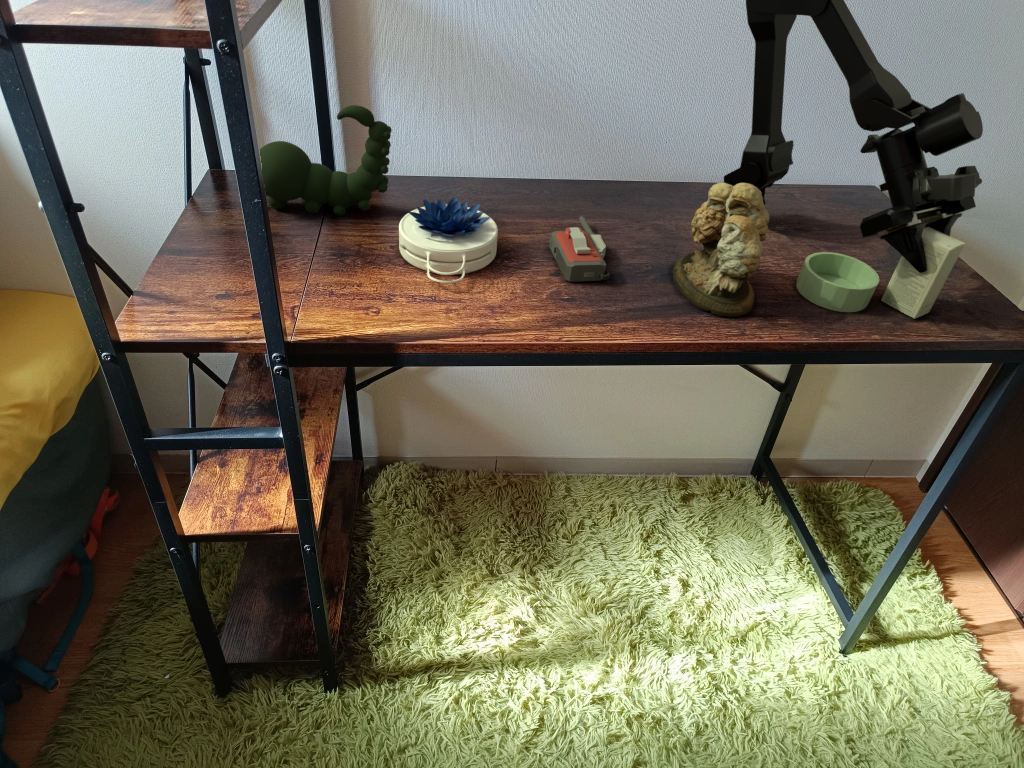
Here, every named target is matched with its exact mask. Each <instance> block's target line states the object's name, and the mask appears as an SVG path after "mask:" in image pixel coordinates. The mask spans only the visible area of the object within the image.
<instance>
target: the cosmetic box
mask: <svg viewBox="0 0 1024 768" xmlns="http://www.w3.org/2000/svg"><path fill="white" fill-rule="evenodd" d="M922 241H923V246H924V251H925V256H926V262H927V271H926V272H922V273H919V272H918V271H917V270H916V269H915V268H914V267H913V266H912V265H911V264H910V263H909V262H908V261H907V260H906V259H905V258H904V257H903V256H902V255H901V257H900V259H899V261H898V263H897V265H896V266H895V269H894V271H893V273H892V276H891V278H890V280H889V282H888V284H887V286H886V289H885V290H884V292H883V295H882V297H881V299H880V300H881V302H882V303H885V304H886V305H888V306H889V307H892V308H894V309H895V310H897V311H898V312H901V313H902V314H905V316H908V317H910V318H912V319H914V320H915V319H918V318H920V317H922V316H924V315H926V314H928V313H930V312H931V310H932V308H933V306H934V304H935V302H936V301H937V298H938V297H939V295H940V293H941V291H942V289H943V288H944V285H945V283H946V282H947V279H948V277H949V276H950V274H951V272H952V270H953V269H954V266H955V264H956V262H957V261H958V259H959V257H960V255H961V252H962V251H963V249H964V247H965V245H966V243H965V242H963V241H961V240H959V239H956V238H954V237H952V236H951V235H950V236H948V235H945V234H943V233H941V232H939V231H936V230H934V229H932V228H930V227H926V228H924V230H923V232H922Z"/></svg>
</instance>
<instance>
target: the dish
mask: <svg viewBox="0 0 1024 768" xmlns="http://www.w3.org/2000/svg"><path fill="white" fill-rule="evenodd" d="M803 261H804V262H803V264H802V267H801V269H800V271H799V274H798V277H797V279H796V283H795V285H796V289H797V291H798V292H799V294H800V295H801V296H802V297H803V298H804V299H806V300H807V301H809V302H810V303H812V304H814V305H816V306H819V307H821V308H824V309H826V310H830V311H834V312H840V313H856V312H860V311H863V310H865V309H866V308H867V307H868V306H869V304H870V302H871V300H872V298H873V295H874V293H875V292H876V289H877V288H878V285H879V284H880V276H879V274H878V273H877V271H876V270H875V269H874V268H873V267H872V266H870V265H869V264H867V263H866V262H864V261H862V260H860V259H858V258H856V257H852V256H851V255H847V254H843V253H838V252H831V251H829V252H828V251H820V252H814V253H812V254H809V255H808V256H807V257H806V258H805V259H804V260H803Z"/></svg>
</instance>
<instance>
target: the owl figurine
mask: <svg viewBox="0 0 1024 768" xmlns="http://www.w3.org/2000/svg"><path fill="white" fill-rule="evenodd" d="M769 223H770V214H769V211H768V210H767V209H766V207H765V206H764V203H763V197H762V193H761V191H760V190H759V189H758V188H757V187H755V186H754V185H752V184H748V183H739V184H736V185H735V186H732V185H729V184H727V183H724V182H717V183H715V184H713V185H712V186H711V187H710V188H709V189H708V195H707V201H704V202H702V204H701V205H700V207H699V208H698V209H697V210H696V211H695V212H694V216H693V219H692V220H691V223H690V225H691V237H692V239H693V242H695V243H696V244H701V245H702V246H703V249H695V250H694V251H692V252H689V253H687V254H685V255H683V256H682V257H681V256H680V258H677V260H676V261H675V263H674V265H673V268H672V280H673V283H674V285H675V287H676V288H677V290H678V291H679V293H680V294H681V295H682V296H683V297H684V299H686V300H687V301H688V302H689V303H691V304H692V305H693V306H695V307H696V308H697V309H700V310H702V311H704V312H710V313H711V314H712V315H714V316H718V317H728V318H738V317H742V316H744V315H747V314H748V313H750V312H751V310H752V309H753V306H754V303H755V292H754V291H755V290H754V289H753V286H752V284H751V283H750V281H749V279H751V278H752V277H753V275H754V273H755V272H757V269H758V268H759V265H760V261H761V257H762V254H763V250H764V249H763V247H764V244H763V242H765V241H766V239H767V233H768V231H769V226H768V224H769Z"/></svg>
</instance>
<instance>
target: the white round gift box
mask: <svg viewBox="0 0 1024 768" xmlns="http://www.w3.org/2000/svg"><path fill="white" fill-rule="evenodd" d="M422 202H423V206H421V207H420V206H416V208H415V209H413V210H411V211H408V212H407V213H406V214H404V216H403V217H402V218H401V219H400V221H399V224H398V243H399V244H398V247H399V248H398V249H399V253H400V254H401V256H402V258H403V259H404V260H405V261H406V262H408V263H409V264H410V265H412V266H413V267H415V268H417V269H419V270H423V271H425V272H426V276H427V278H428V279H429V280H430V281H432V282H435V283H440V284H454V283H455V284H456V283H459V282H462V280H463V279H464V278H465V277H466V276H465V275H466V274H470V273H474V272H477V271H479V270H482V269H483V268H485V267H487V266H488V265H490V264H491V263H492V262H493V261H494V260H495V257H496V255H497V251H498V250H497V248H498V237H499V236H498V235H499V228H498V225H497V223H496V222H495V221H494V219H493V218H491V217H490V216H489V215H487V214H486V213H484V211H481V210H479V209H480V206H481V204H479V203H478V204H475V205H473V206H471V207H470V206H469V204H468V202H467V201H463V202H462V203H461V201H460V200H458V199H457V197H452V198H451V199H450V200H449V202H448V203H445V202H444V201H443V200H442V199H438V200H437V203H435V202H434V201H431V202H430V201H429V200H427V199H423V200H422ZM430 273H433V274H437V275H441V276H452V275H461V277H460V278H457V279H453V280H441V279H437V278H434V277H432V276H431V274H430Z"/></svg>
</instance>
